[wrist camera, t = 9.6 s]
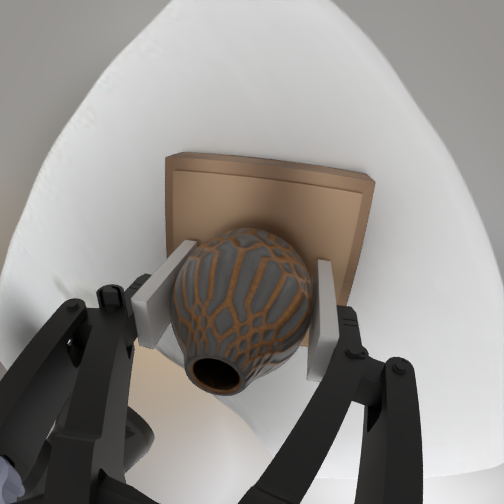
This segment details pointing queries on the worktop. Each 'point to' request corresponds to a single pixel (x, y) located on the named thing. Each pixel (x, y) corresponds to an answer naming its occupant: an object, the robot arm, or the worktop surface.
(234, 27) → the worktop surface
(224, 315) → the vase
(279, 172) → the tray
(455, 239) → the worktop surface
